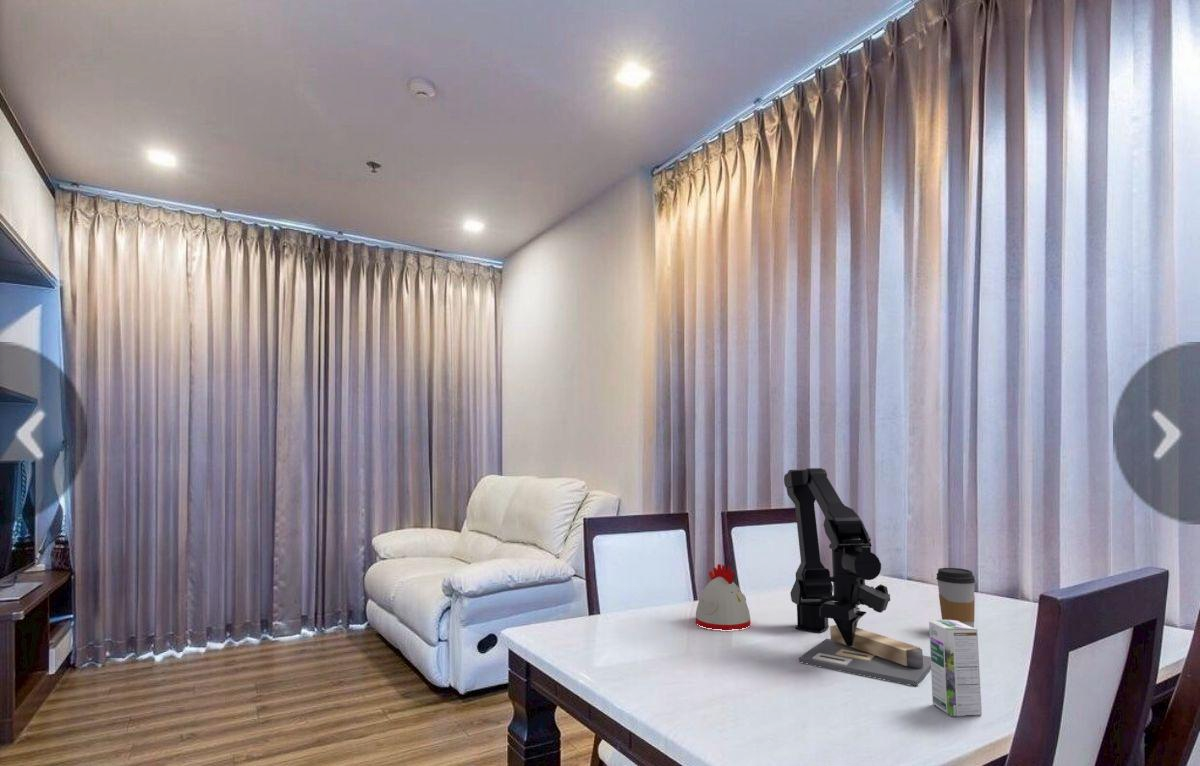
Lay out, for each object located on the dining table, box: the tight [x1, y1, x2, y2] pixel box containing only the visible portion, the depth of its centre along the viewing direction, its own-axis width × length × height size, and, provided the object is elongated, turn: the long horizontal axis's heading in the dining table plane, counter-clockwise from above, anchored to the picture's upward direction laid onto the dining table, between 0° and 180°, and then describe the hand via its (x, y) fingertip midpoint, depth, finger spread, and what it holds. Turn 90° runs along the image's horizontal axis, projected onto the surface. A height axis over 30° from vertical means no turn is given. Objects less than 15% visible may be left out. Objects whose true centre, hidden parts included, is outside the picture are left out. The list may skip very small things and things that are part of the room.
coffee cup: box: [936, 567, 976, 628], centre depth 157 cm, size 8×8×15 cm
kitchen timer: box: [695, 563, 752, 630], centre depth 168 cm, size 14×14×15 cm
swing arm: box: [829, 624, 924, 668], centre depth 140 cm, size 22×4×3 cm, turn 26°
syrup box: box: [928, 619, 983, 717], centre depth 113 cm, size 6×6×14 cm
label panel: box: [798, 638, 931, 687], centre depth 137 cm, size 23×17×1 cm
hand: (849, 645), depth 141 cm, fingers closed
